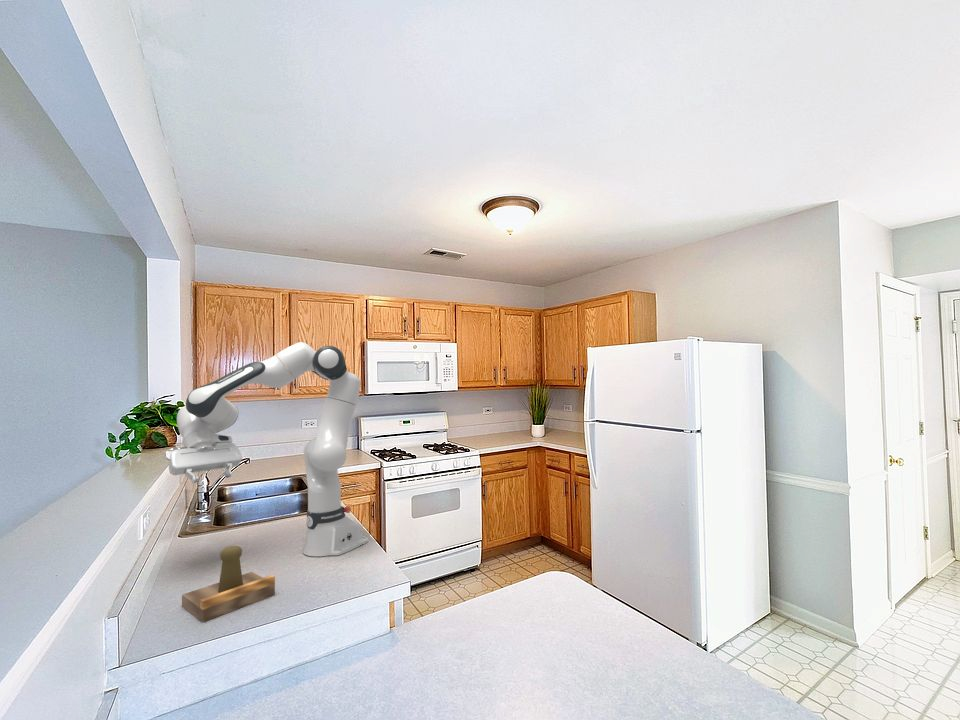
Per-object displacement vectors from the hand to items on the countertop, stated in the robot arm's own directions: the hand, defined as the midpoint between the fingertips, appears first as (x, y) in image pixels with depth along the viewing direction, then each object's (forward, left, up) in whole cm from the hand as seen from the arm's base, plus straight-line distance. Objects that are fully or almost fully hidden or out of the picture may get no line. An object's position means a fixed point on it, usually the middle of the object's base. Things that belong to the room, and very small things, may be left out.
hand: (212, 479), depth 140 cm
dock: (+4, +22, -29) cm, 37 cm away
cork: (+4, +22, -27) cm, 35 cm away
